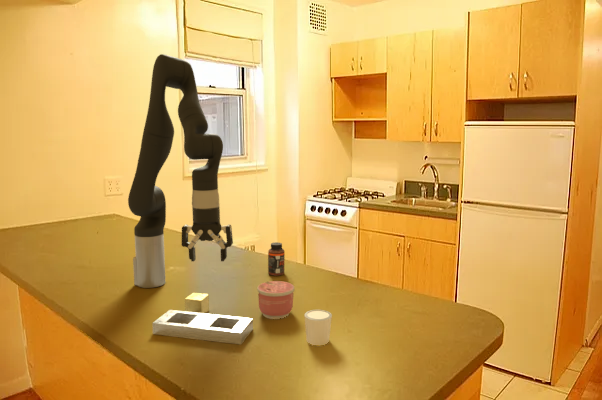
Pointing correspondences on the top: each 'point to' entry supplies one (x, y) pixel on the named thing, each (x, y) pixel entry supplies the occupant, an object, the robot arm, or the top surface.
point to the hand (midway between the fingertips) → (208, 260)
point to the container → (275, 299)
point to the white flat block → (203, 326)
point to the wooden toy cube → (197, 303)
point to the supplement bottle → (276, 259)
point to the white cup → (318, 326)
